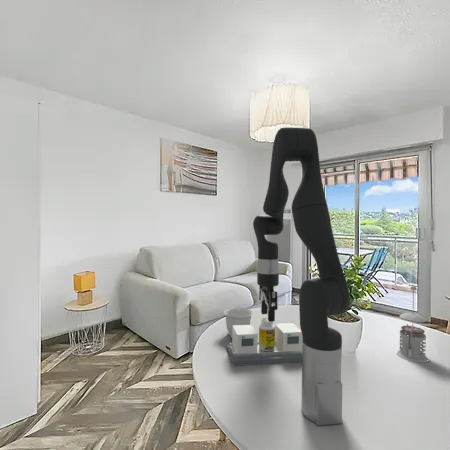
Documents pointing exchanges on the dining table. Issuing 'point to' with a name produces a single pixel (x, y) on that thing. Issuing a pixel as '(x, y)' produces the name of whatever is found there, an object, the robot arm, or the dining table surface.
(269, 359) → the rail board
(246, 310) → the teacup
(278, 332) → the mounted modules
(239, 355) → the steel rail
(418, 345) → the french press
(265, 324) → the supplement bottle
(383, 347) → the dining table surface
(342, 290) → the robot arm
